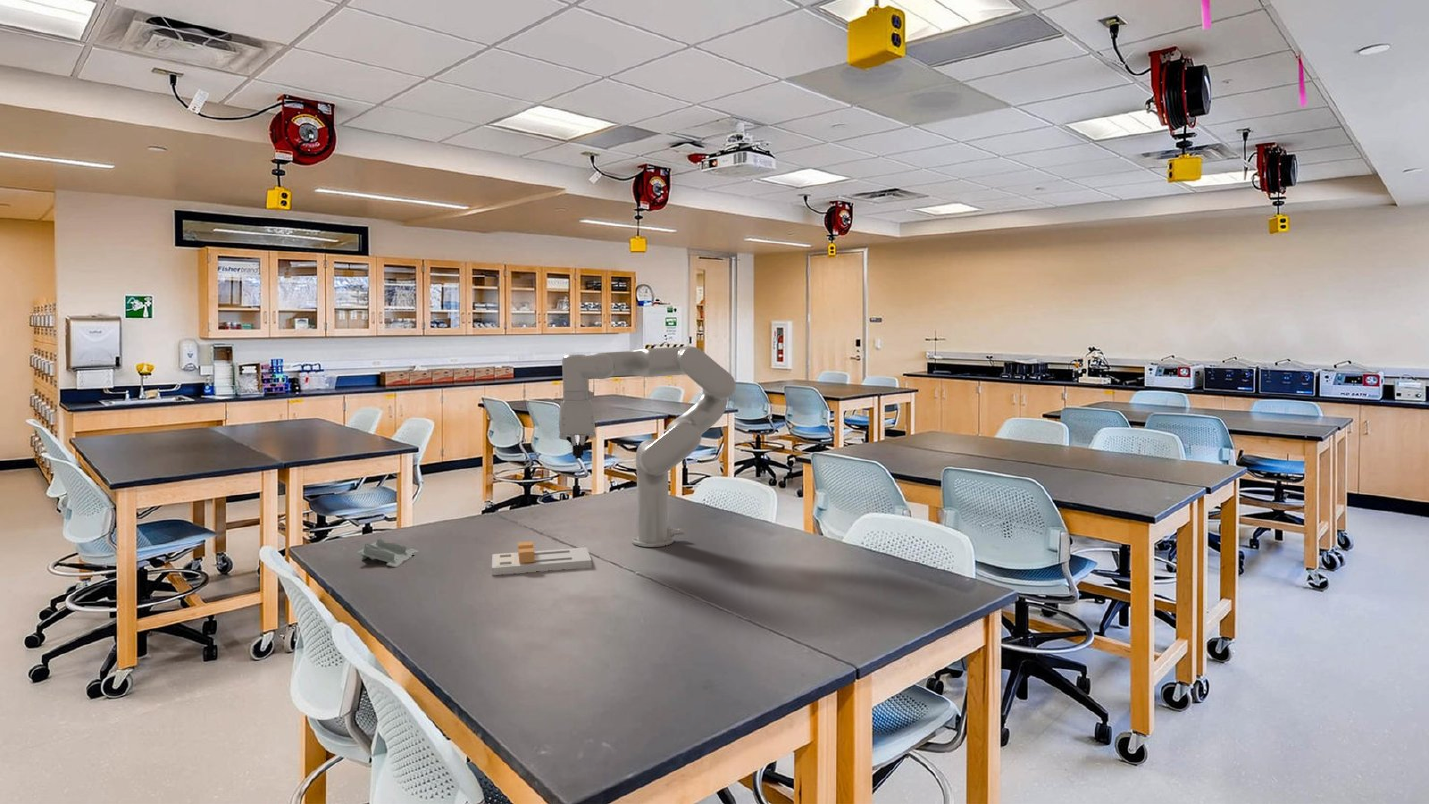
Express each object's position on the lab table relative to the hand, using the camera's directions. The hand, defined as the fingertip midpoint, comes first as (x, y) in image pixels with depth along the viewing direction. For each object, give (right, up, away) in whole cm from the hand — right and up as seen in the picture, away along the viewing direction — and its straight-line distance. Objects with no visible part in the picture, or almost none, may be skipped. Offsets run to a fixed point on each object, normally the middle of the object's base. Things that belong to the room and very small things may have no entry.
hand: (578, 458), depth 226 cm
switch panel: (-7, -28, -16) cm, 33 cm away
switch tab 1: (-12, -26, -14) cm, 31 cm away
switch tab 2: (-10, -26, -20) cm, 35 cm away
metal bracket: (-52, -28, -11) cm, 60 cm away
